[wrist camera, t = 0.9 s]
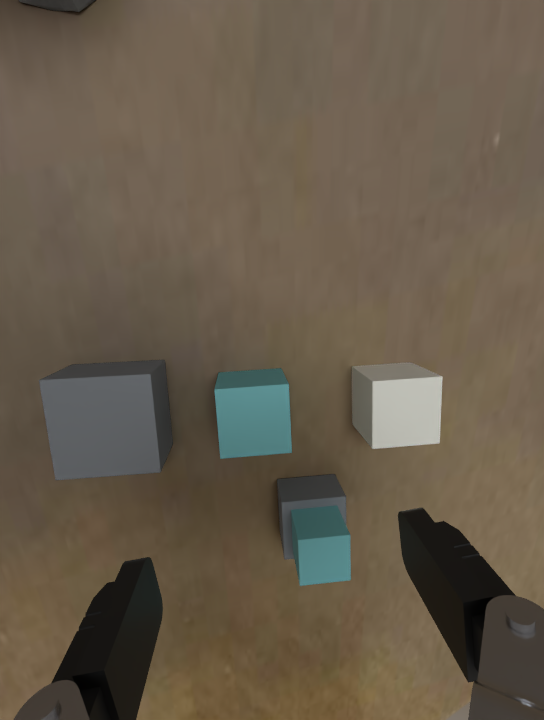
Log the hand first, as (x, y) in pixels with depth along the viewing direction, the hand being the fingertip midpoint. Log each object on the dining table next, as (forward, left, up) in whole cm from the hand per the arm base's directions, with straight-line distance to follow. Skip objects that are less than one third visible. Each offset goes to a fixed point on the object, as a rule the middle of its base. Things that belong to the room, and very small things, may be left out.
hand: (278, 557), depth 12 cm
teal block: (0, -1, -19) cm, 19 cm away
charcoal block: (-8, -6, -19) cm, 22 cm away
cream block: (+9, +5, -19) cm, 22 cm away
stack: (+9, -6, -19) cm, 22 cm away
